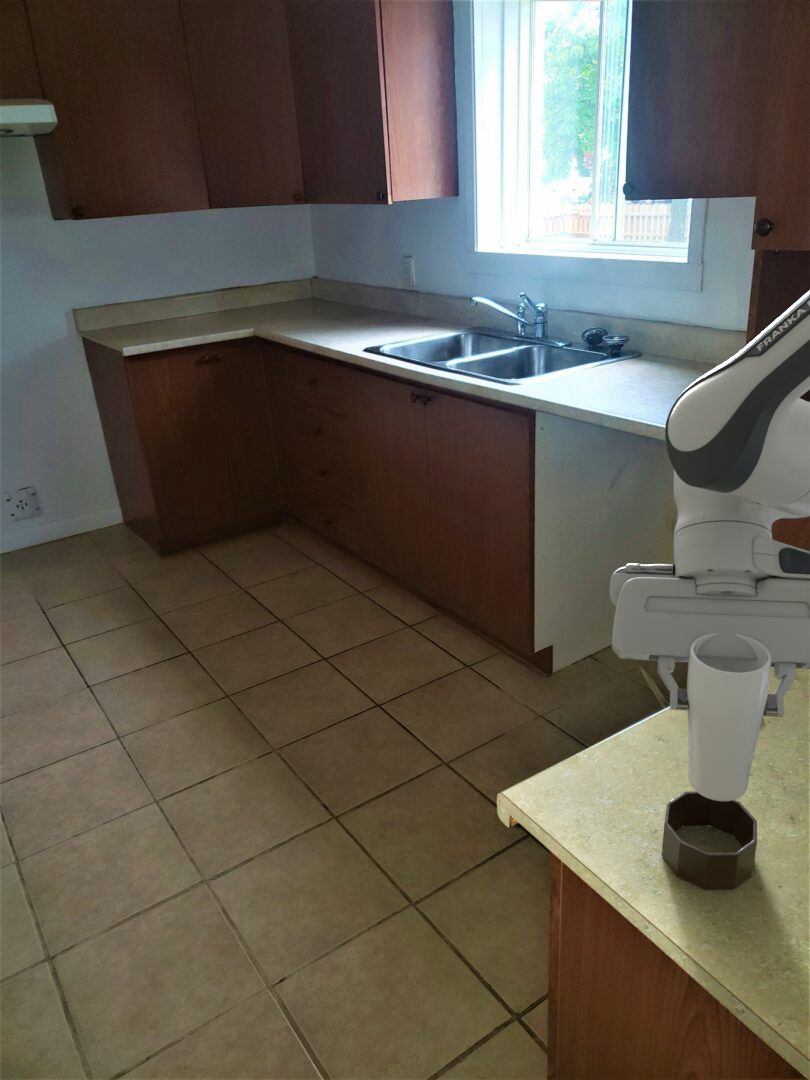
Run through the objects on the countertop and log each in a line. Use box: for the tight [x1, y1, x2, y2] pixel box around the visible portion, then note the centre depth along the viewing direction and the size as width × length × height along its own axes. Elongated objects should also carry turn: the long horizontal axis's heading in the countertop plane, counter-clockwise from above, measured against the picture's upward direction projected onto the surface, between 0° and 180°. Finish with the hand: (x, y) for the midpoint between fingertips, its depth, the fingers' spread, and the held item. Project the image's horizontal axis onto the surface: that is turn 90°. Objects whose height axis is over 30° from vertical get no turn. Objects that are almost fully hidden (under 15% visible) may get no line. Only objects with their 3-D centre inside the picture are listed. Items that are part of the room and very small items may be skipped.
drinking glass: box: [686, 633, 772, 801], centre depth 74 cm, size 7×7×15 cm
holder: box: [661, 790, 758, 891], centre depth 81 cm, size 8×9×4 cm
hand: (726, 712), depth 73 cm, fingers closed on drinking glass, 6 cm apart
